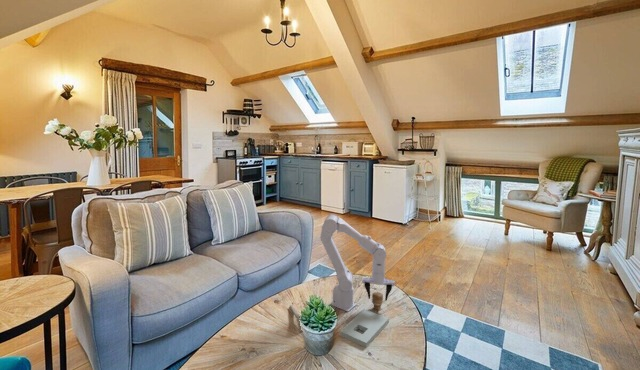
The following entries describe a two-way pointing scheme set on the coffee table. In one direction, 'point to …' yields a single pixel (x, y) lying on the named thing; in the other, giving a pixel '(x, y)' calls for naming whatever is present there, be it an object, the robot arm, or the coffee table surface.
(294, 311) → the caliper
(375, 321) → the board
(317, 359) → the coffee table surface
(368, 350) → the coffee table surface
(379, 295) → the peg
